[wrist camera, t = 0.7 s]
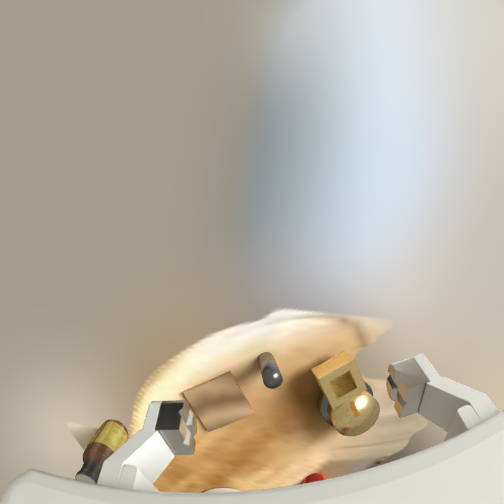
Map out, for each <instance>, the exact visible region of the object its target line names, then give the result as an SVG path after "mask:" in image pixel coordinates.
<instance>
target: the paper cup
mask: <svg viewBox="0 0 504 504" xmlns="http://www.w3.org/2000/svg"><path fill="white" fill-rule="evenodd" d="M326 479H327V478H326V477H325V475H323V474H321V473H315V474H311V475H309V476H307V477H306V478H305V479H304V481H303V484H305V483H311V482H316V481H321V480H326Z"/></svg>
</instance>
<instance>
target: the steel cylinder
mask: <svg viewBox="0 0 504 504" xmlns="http://www.w3.org/2000/svg"><path fill="white" fill-rule="evenodd" d="M258 363H259V367H260V370H261V374H262V378H263V382H264V384H265V386H266V387H268V388H271V389H274V388H277V387H279V386H280V385H281V383H282V380H283V379H282V376H281V373H280V371H279V368H278V366H277V364H276V361H275V359H274V357H273V355H272V354H271V353H269V352H264V353H262V354H260V356H259V357H258Z"/></svg>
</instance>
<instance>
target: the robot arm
mask: <svg viewBox="0 0 504 504" xmlns="http://www.w3.org/2000/svg"><path fill="white" fill-rule="evenodd" d="M388 372H389V374H390V375H389V377H388V378H387V383H386V385H387V391H388V395H389V397H390V399H391V400H393V401H395V406H394V407H395V409H396V411H397V413H398V415H399V417H400V418H402V417H405V416H408V415H411V414H414V413H417V412H418V413H419V414H420V415H422V416H423V417H425V418H426V419H428V420H430V421H431V422H433V423H434V424H436V425H437V426H439V427H440V428H442V429H444V430H445V431H447V432H448V434H447V435H446V438H445V440H444V442H441V443H439V444H437V445H435V446H432V447H430V448H427V449H425V450H422V451H420V452H417V453H415V454H412V455H409V456H407V457H404V458H401V459H398V460H395V461H392V462H389V463H386V464H383V465H380V466H377V467H373V468H370V469H366V470H363V471H359V472H355V473H352V474H348V475H344V476H339V477H335V478H331V479H326V480H321V481H316V482H311V483H305V484H299V485H293V486H287V487H279V488H272V489H263V490H252V491H240V490H236V489H231V488H216V489H211V490H207V491H205V492H203V493H178V492H160V491H159V490H158V489H157V488H156V487H155V486H154V485H153V483H154V482H155V480H156V479H157V478H158V477H159V475H160V474H161V473H162V472H163V470H164V469H165V468H166V467H167V465H168V464H169V463H170V462H171V460H172V459H173V458H174V457H175V456H174V455H191V454H194V451H195V440H194V438H193V437H194V435H195V434H196V433H197V421H196V418H195V415H194V413H193V412H191V411H190V410H189V409H190V405H189V403H188V401H187V400H178V401H152V402H151V403H150V404H149V408H148V411H147V415H146V419H145V422H144V426H143V429H142V430H139V431H138V432H137V433H136V434H135V435H134V436H132V437H131V438H130V439H129V440H128V441H127V442H126V443H125V444H123V445H122V446H121V447H120V448H119V449H118V450H117V451H116V452H114V453H113V454H112V455H111V456H110V457H109V458H108V459H106V460H105V461H104V463H103V466H102V469H101V472H100V476H99V479H98V482H97V484H94V483H89V482H84V481H79V480H74V479H70V478H65V477H62V476H58V475H54V474H50V473H46V472H43V471H39V470H35V469H29V470H27V471H25V472H24V473H22V474H21V475H19V476H18V477H17V478H15V479H14V480H13V481H11V482H10V483H9V484H8V486H7V487H6V489H5V491H4V494H3V497H2V500H1V503H0V504H504V410H503V411H502V412H500V413H499V412H498V410H497V409H496V407H495V406H494V404H493V403H492V402H491V400H490V399H489V398H488V396H487V395H486V394H484V393H481V392H479V391H477V390H474V389H472V388H469V387H467V386H464V385H462V384H460V383H457V382H455V381H452V380H450V379H448V378H445V377H440V376H439V375H438V373H437V372H436V371H435V369H434V368H433V366H432V365H431V363H430V362H429V361H428V359H427V358H426V356H425V355H424V354H419V355H417V356H413V357H410V358H407V359H404V360H401V361H397V362H394V363H391V364H390V365H389V367H388Z"/></svg>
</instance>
